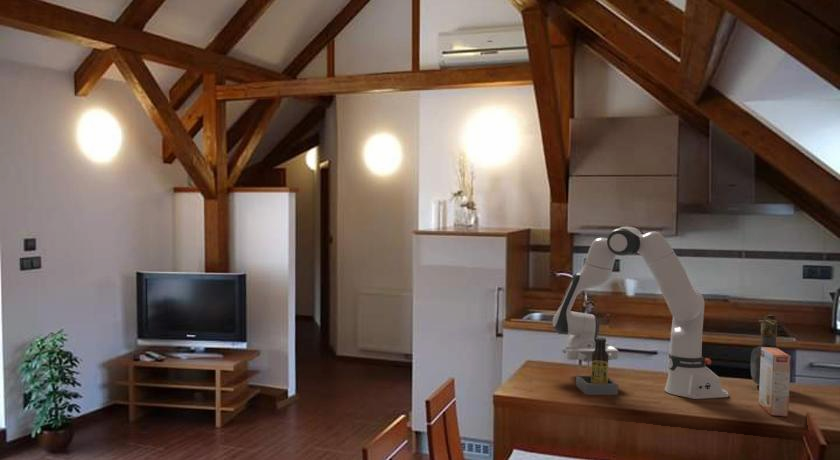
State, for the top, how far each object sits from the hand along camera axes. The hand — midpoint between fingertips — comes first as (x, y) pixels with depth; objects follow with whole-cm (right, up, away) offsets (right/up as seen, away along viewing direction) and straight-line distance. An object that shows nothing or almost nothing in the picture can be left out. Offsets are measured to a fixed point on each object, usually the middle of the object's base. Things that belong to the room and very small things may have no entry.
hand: (597, 358), depth 256 cm
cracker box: (+55, -14, -22) cm, 61 cm away
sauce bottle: (+1, -13, +1) cm, 13 cm away
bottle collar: (0, -12, +1) cm, 13 cm away
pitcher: (+67, -13, +7) cm, 69 cm away
